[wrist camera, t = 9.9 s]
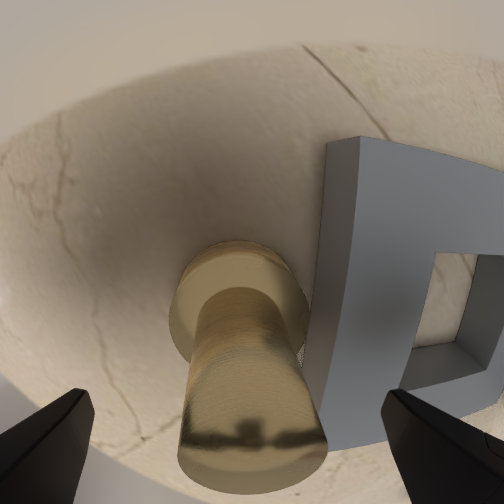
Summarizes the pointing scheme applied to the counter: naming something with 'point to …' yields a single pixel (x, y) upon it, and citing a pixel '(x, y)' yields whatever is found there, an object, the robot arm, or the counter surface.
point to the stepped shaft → (244, 372)
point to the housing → (401, 285)
